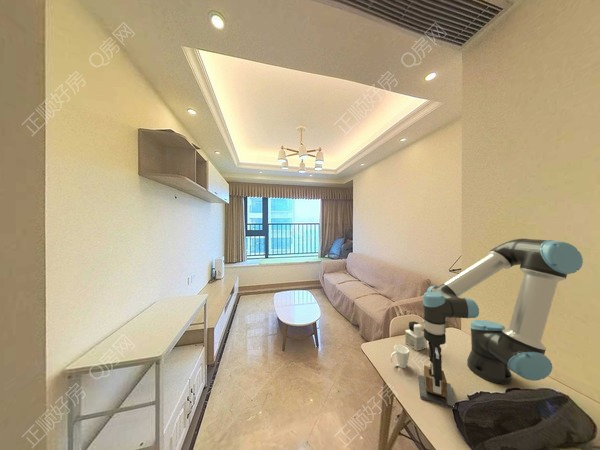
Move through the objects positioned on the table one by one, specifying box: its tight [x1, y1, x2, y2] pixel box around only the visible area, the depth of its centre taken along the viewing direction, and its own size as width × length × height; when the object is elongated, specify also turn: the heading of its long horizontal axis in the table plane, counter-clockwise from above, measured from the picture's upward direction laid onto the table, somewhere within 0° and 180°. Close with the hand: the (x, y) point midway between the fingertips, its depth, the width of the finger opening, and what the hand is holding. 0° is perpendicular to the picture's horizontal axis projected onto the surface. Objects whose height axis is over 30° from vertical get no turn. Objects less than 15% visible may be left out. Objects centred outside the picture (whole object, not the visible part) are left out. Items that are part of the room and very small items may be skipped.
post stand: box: [417, 367, 457, 410], centre depth 80 cm, size 12×12×10 cm
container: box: [404, 320, 428, 352], centre depth 111 cm, size 8×8×13 cm
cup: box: [389, 344, 410, 369], centre depth 96 cm, size 7×10×8 cm
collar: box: [423, 365, 448, 398], centre depth 80 cm, size 7×7×6 cm
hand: (435, 385), depth 80 cm, fingers closed on collar, 7 cm apart
